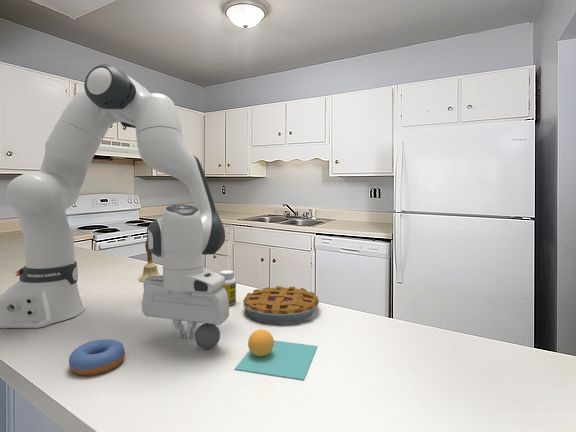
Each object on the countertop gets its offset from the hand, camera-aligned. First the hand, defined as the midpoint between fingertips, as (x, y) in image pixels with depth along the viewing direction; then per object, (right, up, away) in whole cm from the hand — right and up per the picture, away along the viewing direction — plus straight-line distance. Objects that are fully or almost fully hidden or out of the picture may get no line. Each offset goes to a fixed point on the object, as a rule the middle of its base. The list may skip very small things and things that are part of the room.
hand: (185, 337), depth 80 cm
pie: (+21, 0, +22) cm, 30 cm away
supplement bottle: (+5, +1, +27) cm, 28 cm away
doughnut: (-15, -3, -8) cm, 18 cm away
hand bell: (-28, +4, +53) cm, 60 cm away
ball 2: (+18, +1, -5) cm, 18 cm away
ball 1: (+5, +1, -1) cm, 6 cm away
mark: (+21, -2, -5) cm, 22 cm away
